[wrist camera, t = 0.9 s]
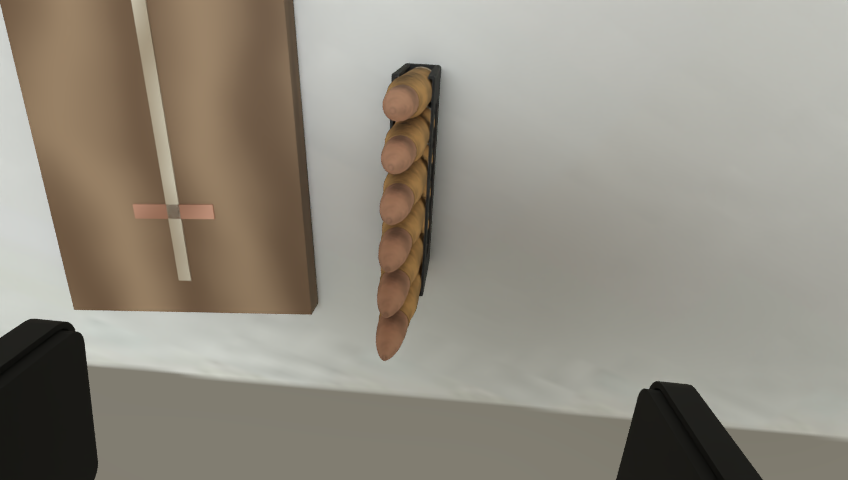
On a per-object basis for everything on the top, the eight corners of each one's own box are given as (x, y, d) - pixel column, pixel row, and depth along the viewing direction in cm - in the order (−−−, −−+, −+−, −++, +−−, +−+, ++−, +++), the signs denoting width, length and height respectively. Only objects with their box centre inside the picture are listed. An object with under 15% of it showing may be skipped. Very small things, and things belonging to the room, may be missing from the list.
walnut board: (268, -296, 24) (254, -319, 22) (318, 302, 33) (311, 315, 32) (-42, -278, 25) (-75, -299, 23) (90, 298, 34) (73, 310, 33)
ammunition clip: (429, 262, 32) (408, 383, 21) (396, 260, 32) (358, 379, 21) (441, 65, 28) (424, 80, 17) (404, 63, 28) (363, 76, 17)
